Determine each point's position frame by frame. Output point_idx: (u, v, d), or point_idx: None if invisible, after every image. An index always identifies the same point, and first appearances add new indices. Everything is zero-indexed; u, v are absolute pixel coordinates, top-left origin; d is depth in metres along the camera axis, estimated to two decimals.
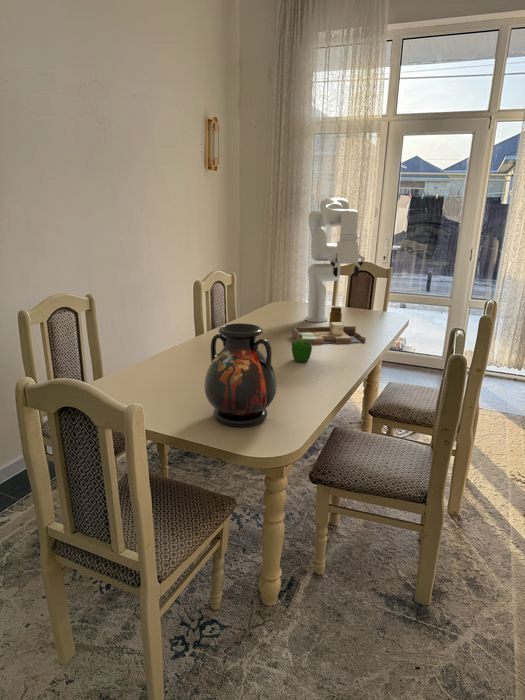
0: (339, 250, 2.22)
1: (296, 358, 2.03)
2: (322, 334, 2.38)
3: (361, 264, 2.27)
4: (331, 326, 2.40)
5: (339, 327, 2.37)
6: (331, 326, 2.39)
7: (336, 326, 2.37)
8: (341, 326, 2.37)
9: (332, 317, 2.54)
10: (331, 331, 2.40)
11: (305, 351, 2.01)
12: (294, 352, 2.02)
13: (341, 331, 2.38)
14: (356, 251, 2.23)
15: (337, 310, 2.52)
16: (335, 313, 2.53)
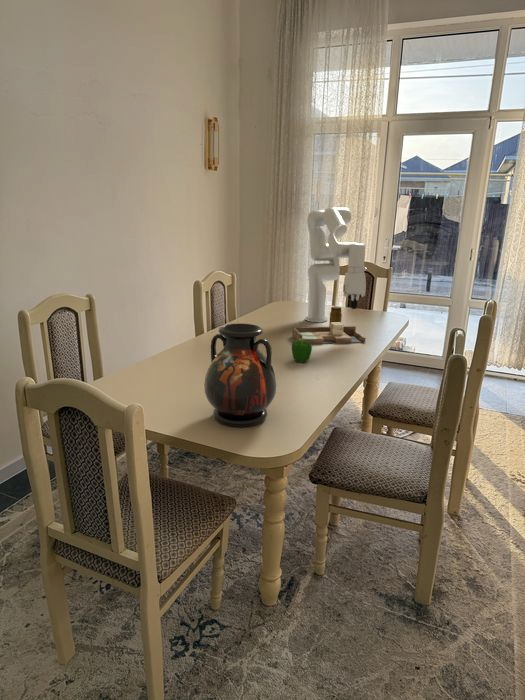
0: (347, 282, 2.32)
1: (296, 358, 2.03)
2: (322, 334, 2.38)
3: (359, 297, 2.36)
4: (331, 326, 2.40)
5: (339, 327, 2.37)
6: (331, 326, 2.39)
7: (336, 326, 2.37)
8: (341, 326, 2.37)
9: (332, 317, 2.54)
10: (331, 331, 2.40)
11: (305, 351, 2.01)
12: (294, 352, 2.02)
13: (341, 331, 2.38)
14: (363, 282, 2.33)
15: (337, 310, 2.52)
16: (335, 313, 2.53)
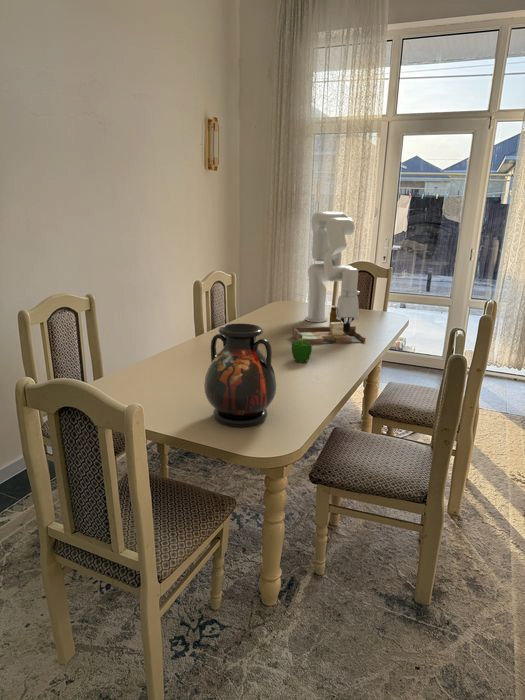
0: (340, 305, 2.35)
1: (296, 358, 2.03)
2: (322, 334, 2.38)
3: (352, 320, 2.39)
4: (331, 326, 2.40)
5: (339, 327, 2.37)
6: (331, 326, 2.39)
7: (336, 326, 2.37)
8: (341, 326, 2.37)
9: (332, 317, 2.54)
10: (331, 331, 2.40)
11: (305, 351, 2.01)
12: (294, 352, 2.02)
13: (341, 331, 2.38)
14: (356, 306, 2.36)
15: None
16: (335, 313, 2.53)
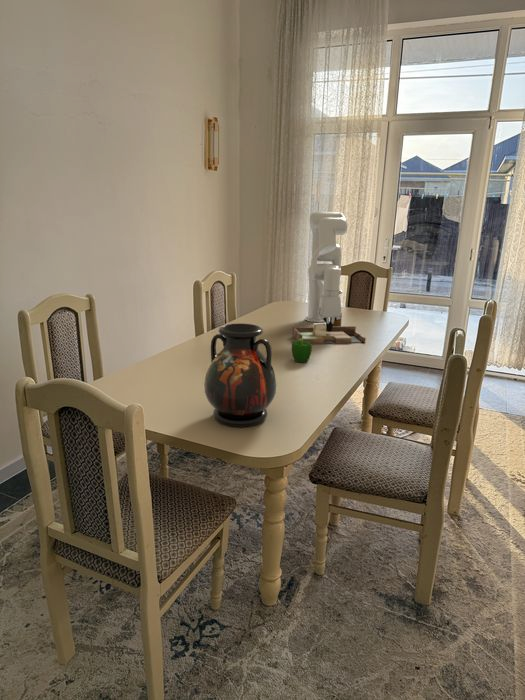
0: (322, 305, 2.33)
1: (296, 358, 2.03)
2: None
3: (335, 320, 2.37)
4: (314, 327, 2.38)
5: (322, 328, 2.35)
6: (314, 327, 2.37)
7: (319, 327, 2.35)
8: (324, 327, 2.35)
9: None
10: (314, 332, 2.38)
11: (305, 351, 2.01)
12: (294, 352, 2.02)
13: (324, 332, 2.36)
14: (339, 306, 2.34)
15: None
16: None
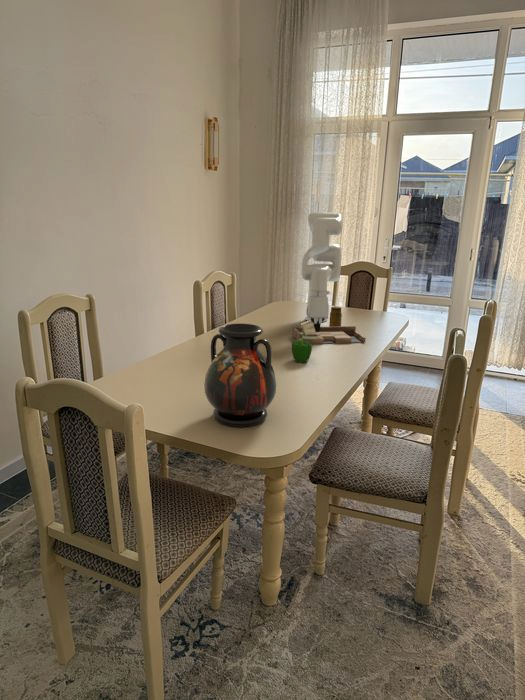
0: (310, 305, 2.32)
1: (296, 358, 2.03)
2: (322, 334, 2.38)
3: (322, 320, 2.36)
4: (302, 327, 2.37)
5: (309, 326, 2.34)
6: (302, 327, 2.37)
7: (306, 326, 2.34)
8: (311, 325, 2.34)
9: (332, 317, 2.54)
10: (303, 332, 2.38)
11: (305, 351, 2.01)
12: (294, 352, 2.02)
13: (312, 329, 2.35)
14: (326, 306, 2.33)
15: (337, 310, 2.52)
16: (335, 313, 2.53)
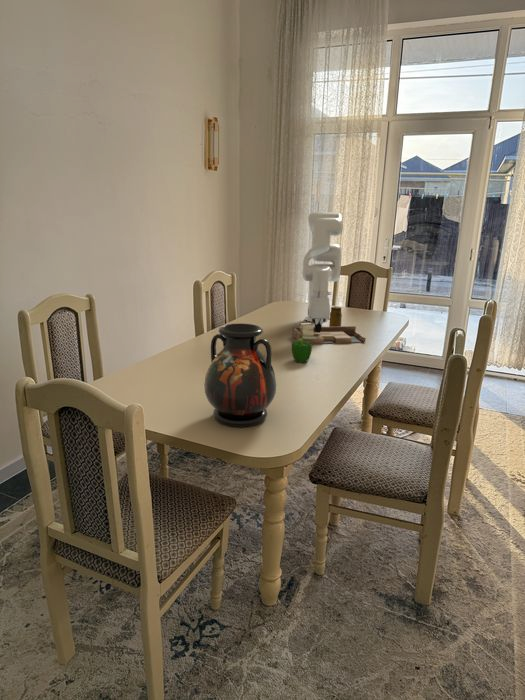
0: (311, 306, 2.33)
1: (296, 358, 2.03)
2: (322, 334, 2.38)
3: (324, 321, 2.37)
4: (301, 327, 2.37)
5: (309, 328, 2.35)
6: (301, 327, 2.37)
7: (306, 327, 2.34)
8: (311, 327, 2.35)
9: (332, 317, 2.54)
10: (301, 332, 2.37)
11: (305, 351, 2.01)
12: (294, 352, 2.02)
13: (311, 332, 2.35)
14: (327, 307, 2.34)
15: (337, 310, 2.52)
16: (335, 313, 2.53)
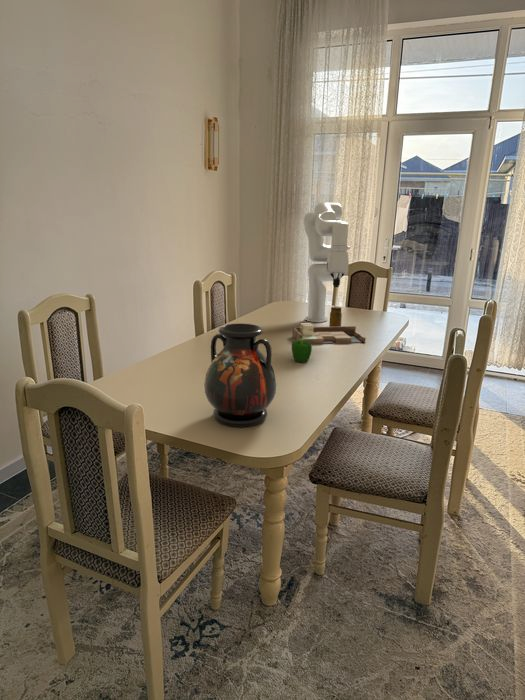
0: (330, 260, 2.34)
1: (296, 358, 2.03)
2: (322, 334, 2.38)
3: (342, 276, 2.38)
4: (301, 327, 2.37)
5: (309, 328, 2.35)
6: (301, 327, 2.37)
7: (306, 327, 2.34)
8: (311, 327, 2.35)
9: (332, 317, 2.54)
10: (301, 332, 2.37)
11: (305, 351, 2.01)
12: (294, 352, 2.02)
13: (311, 332, 2.35)
14: (346, 261, 2.35)
15: (337, 310, 2.52)
16: (335, 313, 2.53)
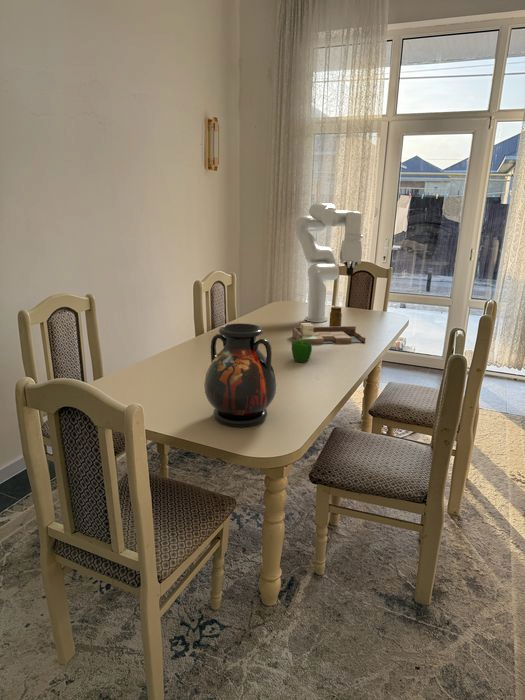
0: (344, 249, 2.40)
1: (296, 358, 2.03)
2: (322, 334, 2.38)
3: (355, 264, 2.44)
4: (301, 327, 2.37)
5: (309, 328, 2.35)
6: (301, 327, 2.37)
7: (306, 327, 2.34)
8: (311, 327, 2.35)
9: (332, 317, 2.54)
10: (301, 332, 2.37)
11: (305, 351, 2.01)
12: (294, 352, 2.02)
13: (311, 332, 2.35)
14: (359, 250, 2.41)
15: (337, 310, 2.52)
16: (335, 313, 2.53)
